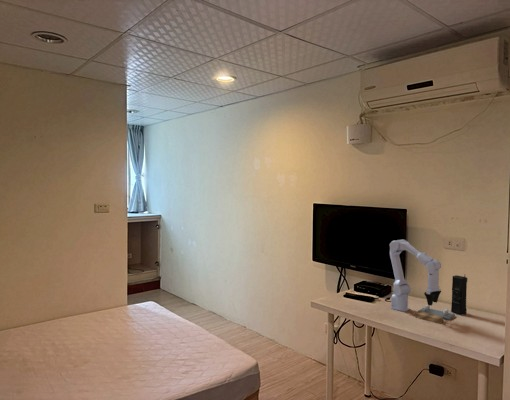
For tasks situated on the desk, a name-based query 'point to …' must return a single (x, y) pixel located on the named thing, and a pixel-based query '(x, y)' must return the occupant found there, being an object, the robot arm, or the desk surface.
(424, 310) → the peg stand
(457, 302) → the portable radio
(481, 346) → the desk surface
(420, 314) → the shelf board
